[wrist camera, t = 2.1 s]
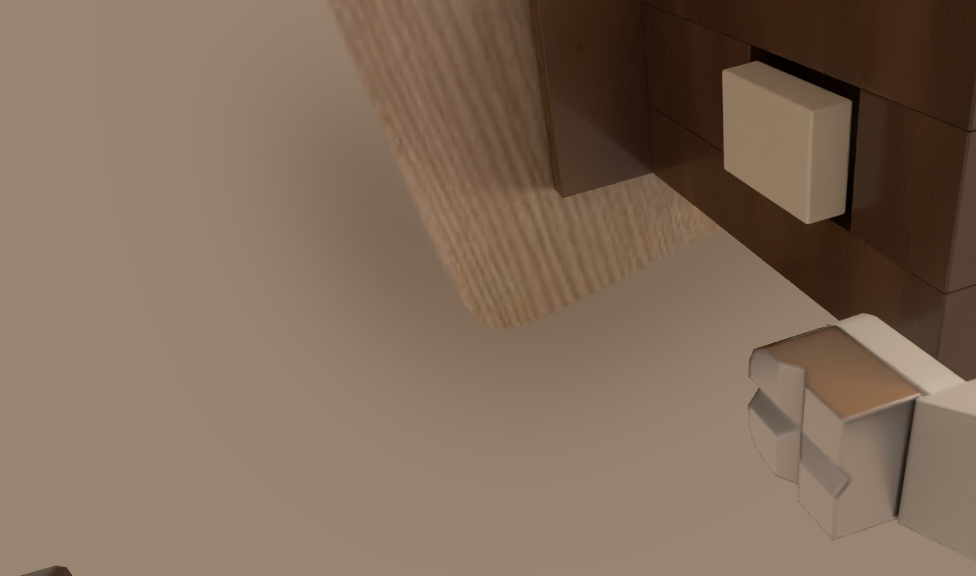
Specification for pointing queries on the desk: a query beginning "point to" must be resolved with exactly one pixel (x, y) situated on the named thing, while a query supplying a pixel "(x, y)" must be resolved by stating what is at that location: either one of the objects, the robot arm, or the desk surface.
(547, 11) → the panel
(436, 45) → the desk surface
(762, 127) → the switch
